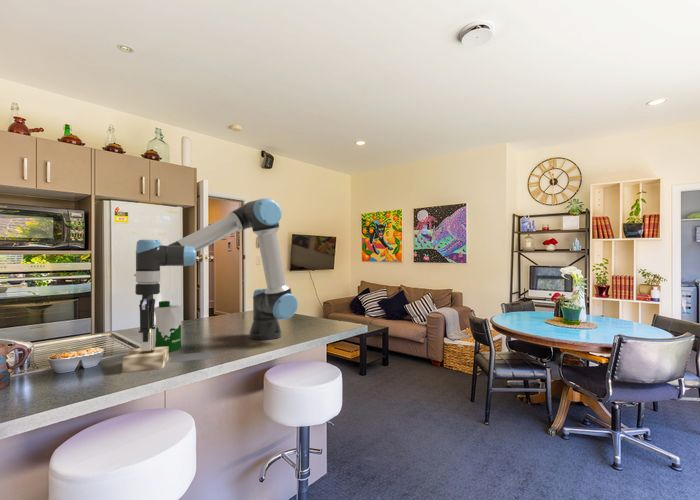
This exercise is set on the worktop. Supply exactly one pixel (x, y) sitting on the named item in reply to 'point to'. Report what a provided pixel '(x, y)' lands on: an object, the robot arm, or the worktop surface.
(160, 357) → the hole block
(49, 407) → the worktop surface
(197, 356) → the mat
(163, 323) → the milk carton
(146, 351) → the brass pin
